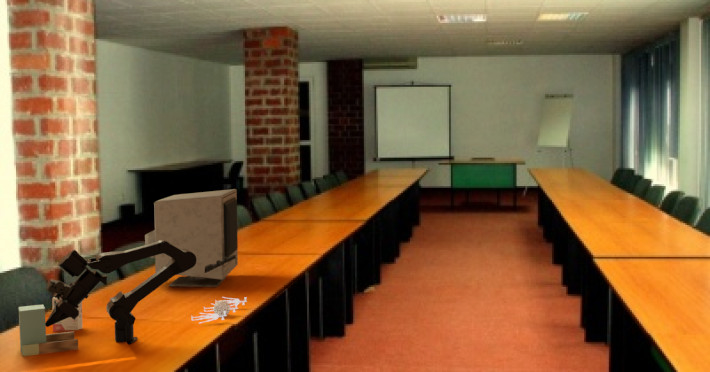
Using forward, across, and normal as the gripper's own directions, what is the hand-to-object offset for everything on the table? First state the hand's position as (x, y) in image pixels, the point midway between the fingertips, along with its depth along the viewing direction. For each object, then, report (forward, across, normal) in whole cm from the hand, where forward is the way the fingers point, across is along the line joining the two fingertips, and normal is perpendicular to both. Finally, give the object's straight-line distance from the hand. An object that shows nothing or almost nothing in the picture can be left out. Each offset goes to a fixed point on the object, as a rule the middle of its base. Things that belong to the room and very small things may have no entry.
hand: (45, 325), depth 233 cm
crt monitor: (-41, -84, +52) cm, 107 cm away
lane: (+3, 0, +8) cm, 8 cm away
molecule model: (-36, -20, +49) cm, 64 cm away
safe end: (+9, 0, +2) cm, 9 cm away
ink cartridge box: (0, -22, +12) cm, 25 cm away
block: (+8, 0, +2) cm, 8 cm away
